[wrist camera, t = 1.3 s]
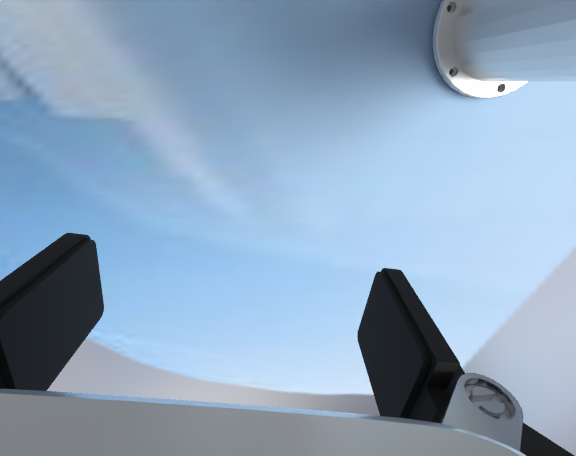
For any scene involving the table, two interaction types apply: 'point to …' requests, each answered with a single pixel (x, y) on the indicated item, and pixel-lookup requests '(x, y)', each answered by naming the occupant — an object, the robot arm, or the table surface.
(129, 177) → the table surface
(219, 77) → the table surface
